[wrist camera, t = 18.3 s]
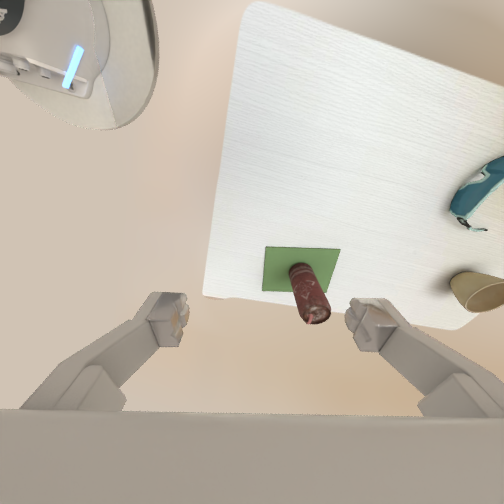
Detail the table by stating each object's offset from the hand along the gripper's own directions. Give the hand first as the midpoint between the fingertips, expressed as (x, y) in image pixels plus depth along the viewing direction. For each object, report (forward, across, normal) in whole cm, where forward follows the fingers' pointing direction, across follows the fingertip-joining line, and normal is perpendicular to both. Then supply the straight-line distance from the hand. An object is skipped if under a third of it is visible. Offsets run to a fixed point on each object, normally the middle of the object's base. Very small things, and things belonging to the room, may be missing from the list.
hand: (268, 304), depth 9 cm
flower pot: (+31, -56, +22) cm, 68 cm away
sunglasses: (+31, -48, 0) cm, 57 cm away
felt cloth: (+31, -12, +21) cm, 39 cm away
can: (+31, -12, +21) cm, 39 cm away
